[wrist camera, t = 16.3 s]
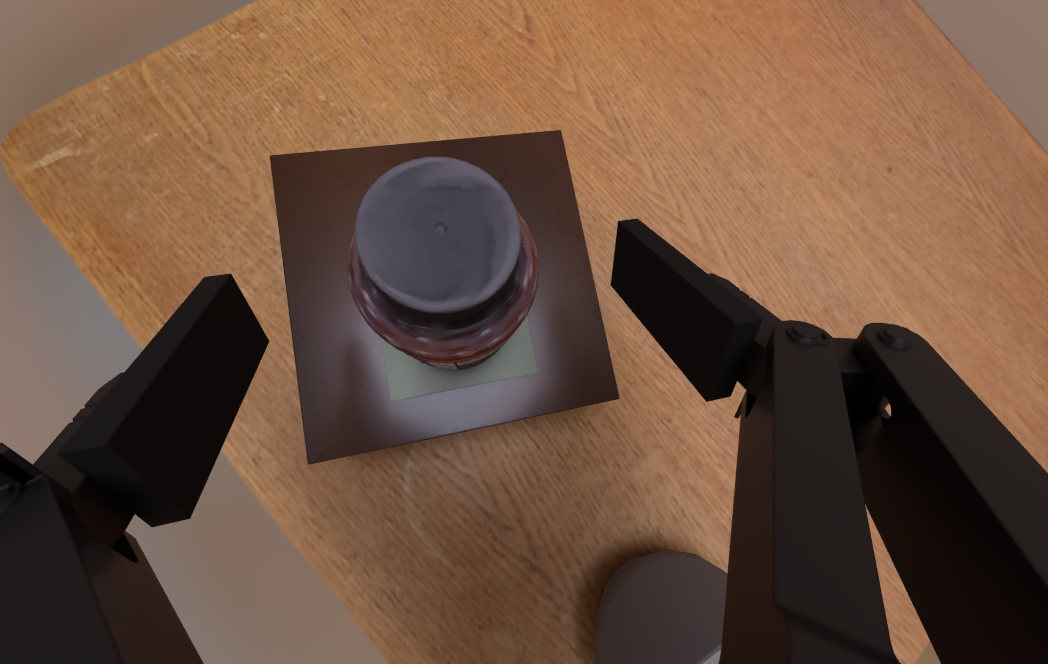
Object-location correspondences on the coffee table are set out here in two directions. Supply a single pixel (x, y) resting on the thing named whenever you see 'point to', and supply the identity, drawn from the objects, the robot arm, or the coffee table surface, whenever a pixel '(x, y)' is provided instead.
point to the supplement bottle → (442, 262)
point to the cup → (662, 611)
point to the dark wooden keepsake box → (391, 375)
